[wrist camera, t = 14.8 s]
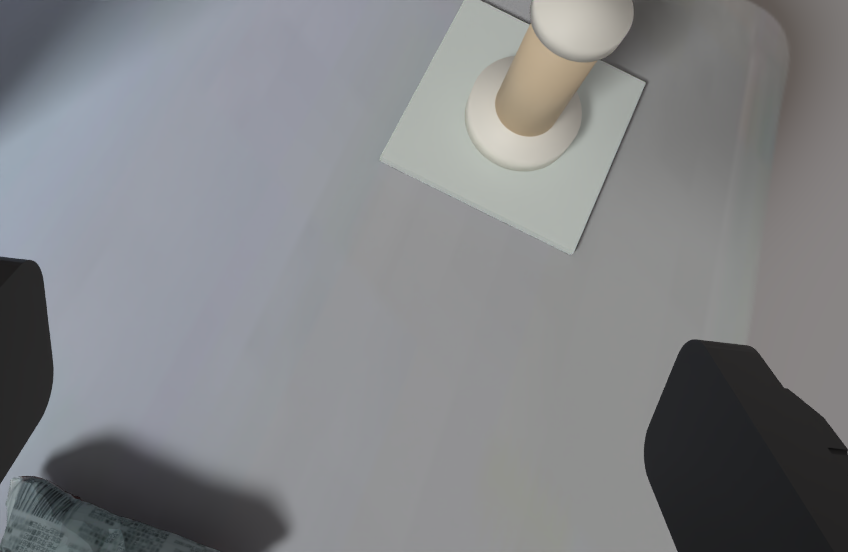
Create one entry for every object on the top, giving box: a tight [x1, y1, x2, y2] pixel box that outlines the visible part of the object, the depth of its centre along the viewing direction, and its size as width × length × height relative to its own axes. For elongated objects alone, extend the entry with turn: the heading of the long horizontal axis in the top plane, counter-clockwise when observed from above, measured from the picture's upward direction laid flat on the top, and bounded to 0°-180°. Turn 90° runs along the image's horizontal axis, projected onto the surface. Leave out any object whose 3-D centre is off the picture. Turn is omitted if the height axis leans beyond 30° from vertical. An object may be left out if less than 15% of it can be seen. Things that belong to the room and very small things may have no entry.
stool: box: [465, 0, 634, 172], centre depth 37 cm, size 6×6×11 cm
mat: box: [380, 0, 646, 255], centre depth 42 cm, size 12×12×1 cm
